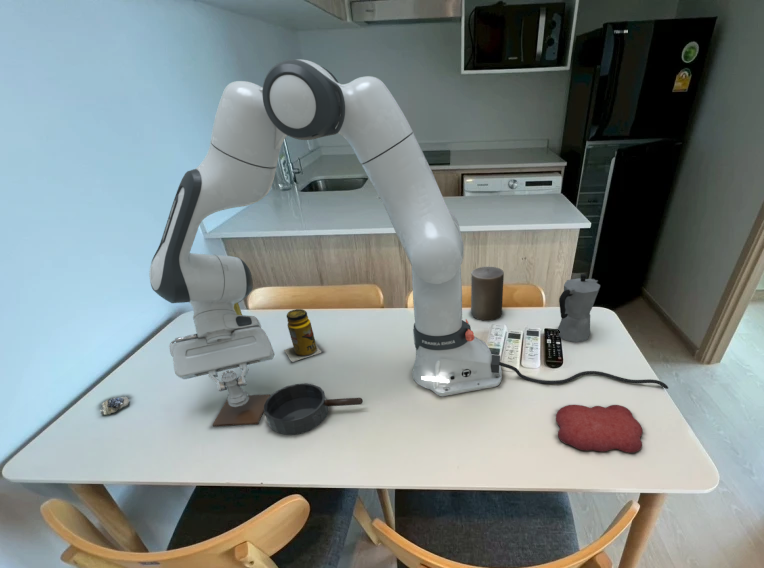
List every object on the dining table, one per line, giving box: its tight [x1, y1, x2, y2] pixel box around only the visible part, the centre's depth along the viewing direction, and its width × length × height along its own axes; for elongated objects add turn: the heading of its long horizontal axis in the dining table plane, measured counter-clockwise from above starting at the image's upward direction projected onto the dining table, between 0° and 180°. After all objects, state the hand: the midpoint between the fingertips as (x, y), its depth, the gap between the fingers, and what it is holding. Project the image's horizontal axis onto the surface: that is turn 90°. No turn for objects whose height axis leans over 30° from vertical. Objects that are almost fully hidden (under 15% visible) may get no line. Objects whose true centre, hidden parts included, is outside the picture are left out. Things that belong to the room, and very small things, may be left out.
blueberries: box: [99, 396, 130, 416], centre depth 98 cm, size 7×8×2 cm
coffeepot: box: [557, 273, 601, 343], centre depth 112 cm, size 15×9×18 cm, turn 129°
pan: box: [263, 382, 329, 436], centre depth 93 cm, size 13×13×4 cm
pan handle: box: [325, 397, 364, 407], centre depth 92 cm, size 9×2×2 cm, turn 92°
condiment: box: [283, 308, 322, 363], centre depth 112 cm, size 7×8×12 cm
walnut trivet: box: [212, 393, 272, 428], centre depth 96 cm, size 10×10×1 cm
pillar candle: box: [470, 265, 505, 322], centre depth 126 cm, size 10×10×15 cm
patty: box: [555, 404, 643, 454], centre depth 86 cm, size 18×14×2 cm
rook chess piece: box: [220, 369, 249, 407], centre depth 92 cm, size 4×4×8 cm
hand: (233, 387), depth 91 cm, fingers closed on rook chess piece, 3 cm apart
